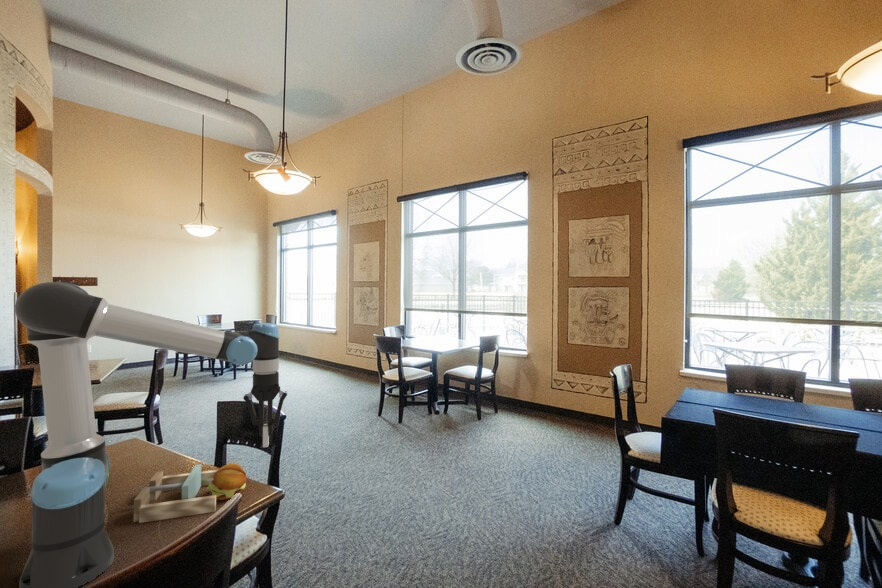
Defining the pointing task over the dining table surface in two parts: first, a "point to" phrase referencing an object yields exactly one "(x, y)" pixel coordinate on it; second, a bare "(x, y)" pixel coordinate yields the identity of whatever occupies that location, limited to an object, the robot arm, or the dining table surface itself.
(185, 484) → the pusher
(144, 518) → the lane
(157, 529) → the dining table surface
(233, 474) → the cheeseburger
